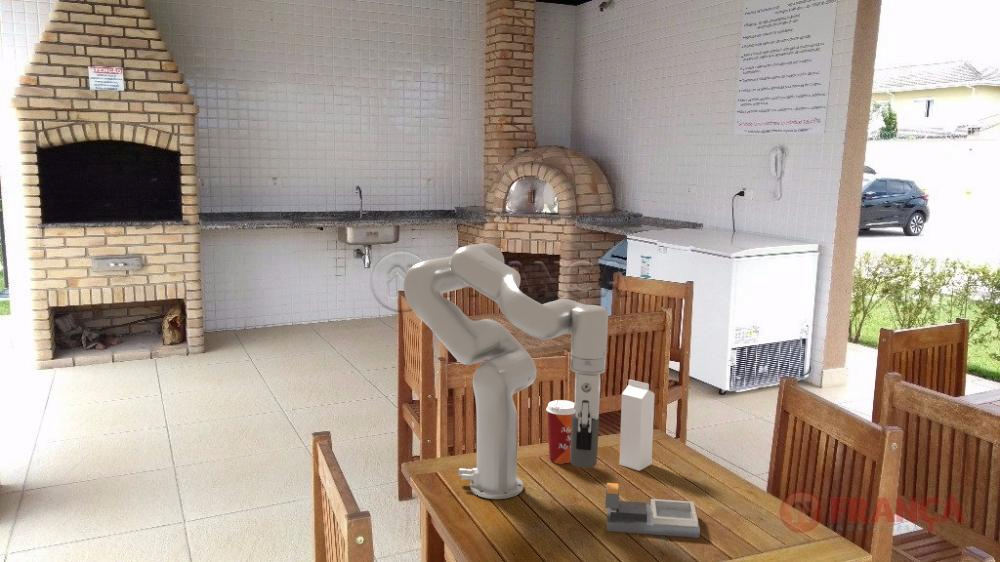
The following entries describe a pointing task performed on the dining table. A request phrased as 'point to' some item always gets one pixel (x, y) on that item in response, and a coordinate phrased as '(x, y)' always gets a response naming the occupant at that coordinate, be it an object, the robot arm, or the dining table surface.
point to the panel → (655, 518)
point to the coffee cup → (560, 429)
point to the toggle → (612, 496)
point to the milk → (636, 426)
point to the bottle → (584, 456)
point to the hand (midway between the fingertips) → (584, 442)
